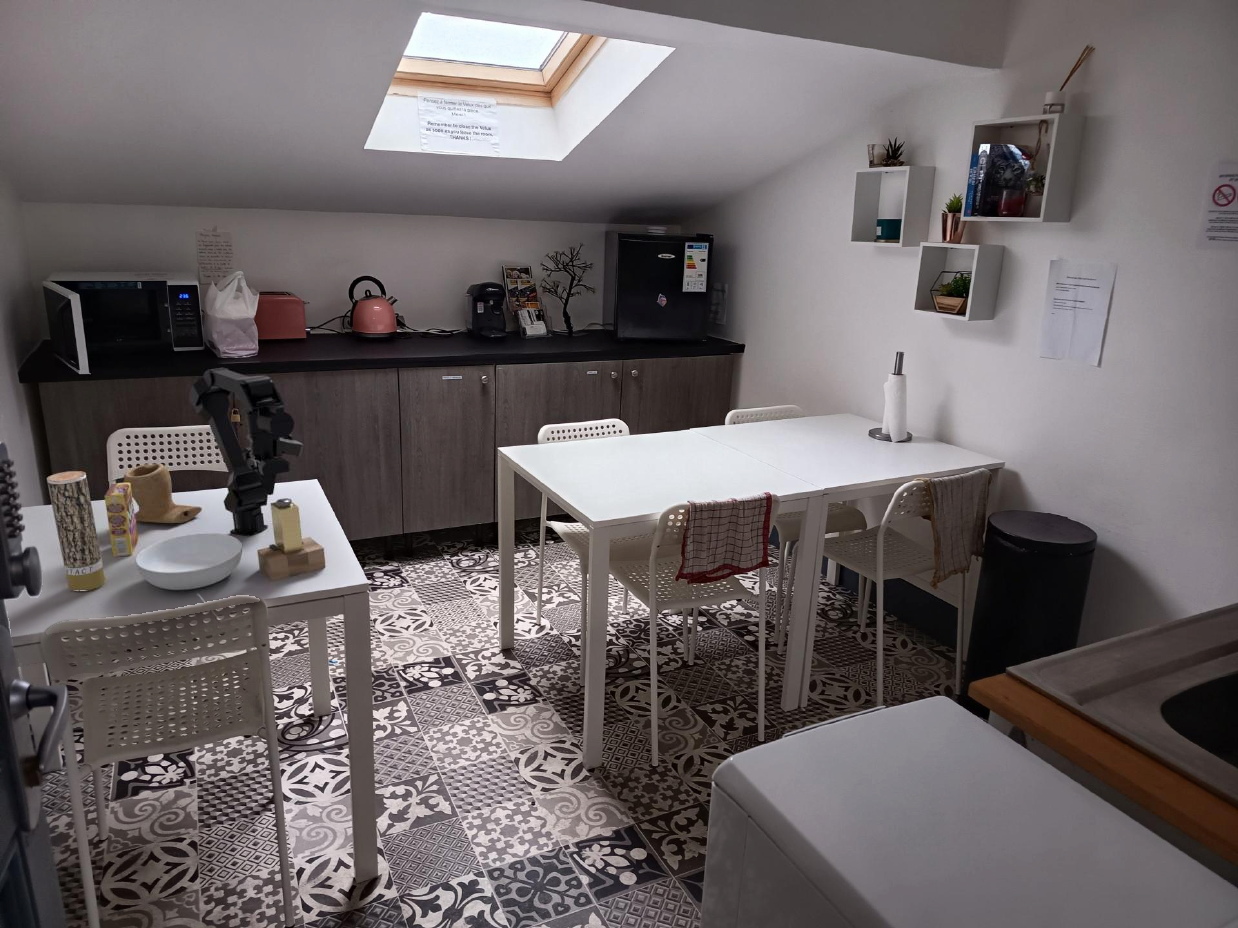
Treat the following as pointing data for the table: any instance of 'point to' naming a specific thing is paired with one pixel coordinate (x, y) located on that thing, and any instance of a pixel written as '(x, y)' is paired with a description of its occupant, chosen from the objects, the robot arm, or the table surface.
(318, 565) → the walnut housing
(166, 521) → the tan ankle boot
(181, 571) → the serving bowl
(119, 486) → the candy box
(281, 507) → the brass post
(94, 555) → the paper tube
